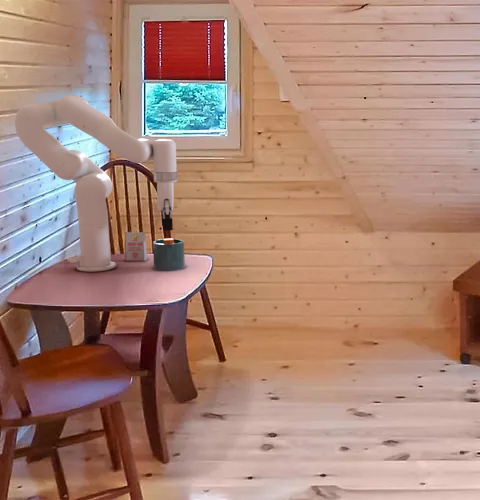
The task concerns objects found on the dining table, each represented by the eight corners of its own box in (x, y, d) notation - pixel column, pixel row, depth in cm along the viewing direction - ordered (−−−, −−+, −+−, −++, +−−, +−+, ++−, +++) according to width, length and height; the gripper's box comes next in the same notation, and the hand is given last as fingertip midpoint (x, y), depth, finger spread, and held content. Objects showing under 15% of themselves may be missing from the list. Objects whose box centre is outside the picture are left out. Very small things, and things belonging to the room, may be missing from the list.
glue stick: (164, 266, 259) (163, 240, 257) (164, 264, 262) (163, 238, 260) (174, 265, 259) (173, 239, 258) (174, 263, 263) (173, 238, 261)
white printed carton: (128, 258, 274) (126, 231, 272) (147, 259, 274) (145, 231, 272) (125, 261, 270) (123, 233, 268) (144, 261, 270) (143, 233, 268)
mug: (185, 269, 257) (184, 243, 255) (154, 271, 255) (153, 244, 253) (183, 261, 270) (182, 236, 268) (153, 262, 268) (152, 237, 266)
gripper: (153, 174, 262) (155, 224, 265) (154, 180, 245) (156, 232, 249) (175, 174, 264) (177, 223, 267) (178, 179, 247) (179, 231, 251)
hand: (167, 227), depth 258 cm, fingers open, 9 cm apart
